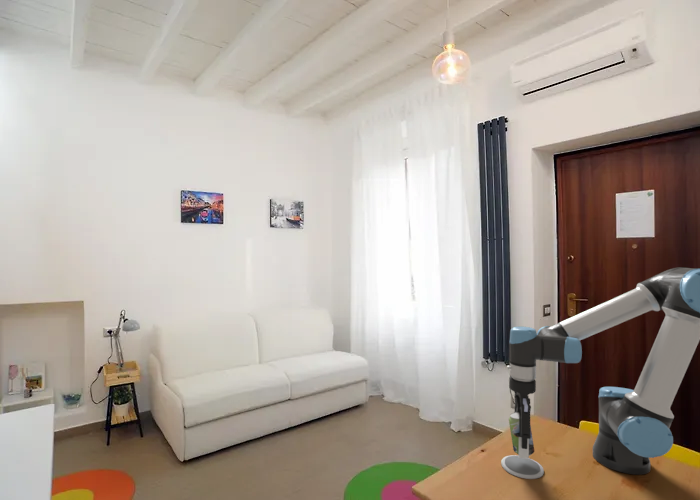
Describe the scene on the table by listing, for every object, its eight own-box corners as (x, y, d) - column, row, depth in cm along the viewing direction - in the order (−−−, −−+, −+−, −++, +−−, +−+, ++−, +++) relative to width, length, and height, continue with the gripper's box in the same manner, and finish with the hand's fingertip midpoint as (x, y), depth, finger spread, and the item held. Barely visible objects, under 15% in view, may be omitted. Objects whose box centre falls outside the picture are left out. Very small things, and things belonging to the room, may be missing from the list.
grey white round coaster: (539, 460, 124) (539, 457, 124) (547, 481, 112) (547, 478, 112) (499, 454, 127) (499, 451, 127) (503, 475, 115) (503, 472, 115)
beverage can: (536, 459, 116) (537, 420, 116) (510, 457, 117) (511, 418, 117) (531, 449, 122) (531, 411, 122) (506, 446, 123) (507, 409, 123)
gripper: (505, 367, 130) (504, 436, 130) (514, 386, 111) (513, 466, 111) (529, 369, 128) (528, 439, 128) (542, 389, 109) (541, 470, 109)
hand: (521, 452), depth 120 cm, fingers closed on beverage can, 6 cm apart
